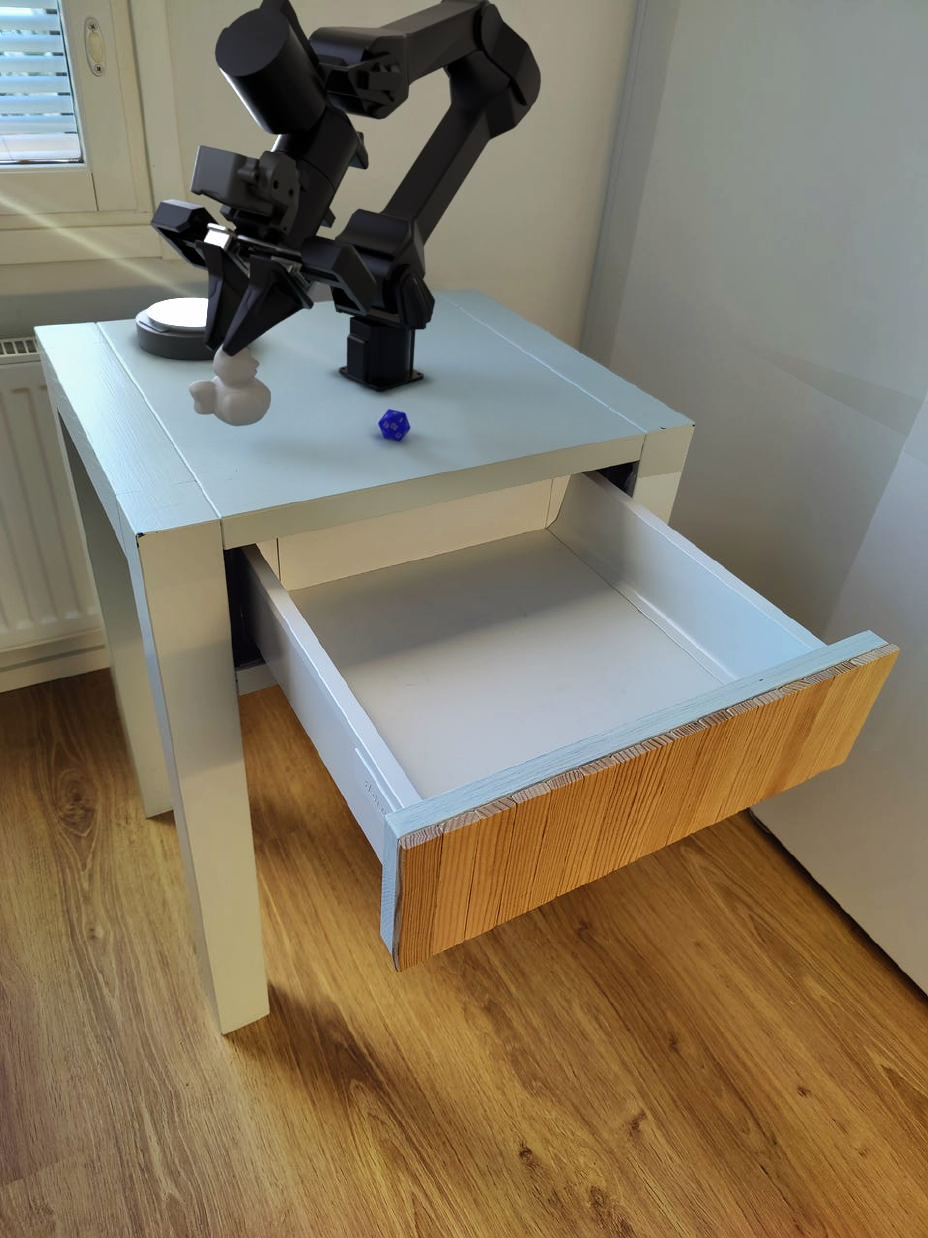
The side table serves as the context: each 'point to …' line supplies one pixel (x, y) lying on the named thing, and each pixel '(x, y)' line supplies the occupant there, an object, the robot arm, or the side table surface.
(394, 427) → the die
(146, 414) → the side table surface
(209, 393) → the rubber duck
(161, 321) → the scale
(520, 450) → the side table surface
